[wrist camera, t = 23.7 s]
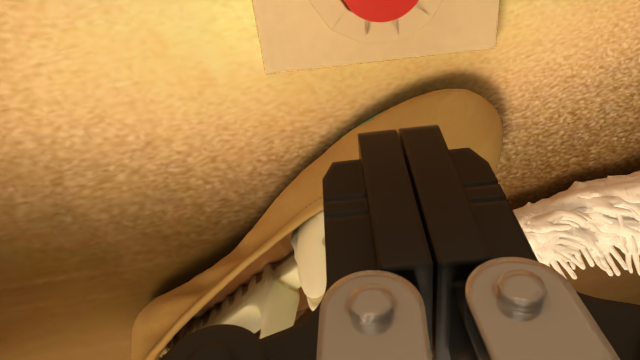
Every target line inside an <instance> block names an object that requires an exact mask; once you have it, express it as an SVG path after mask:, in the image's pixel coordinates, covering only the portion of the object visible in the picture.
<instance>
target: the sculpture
mask: <svg viewBox="0 0 640 360" xmlns="http://www.w3.org/2000/svg"><path fill="white" fill-rule="evenodd" d="M513 212H514V214H515V216H516V218H517V220H518V222H519V224H520V226H521V228H522V230H523V232H524V234H525V236H526V238H527V240H528V242H529V244H530V246H531V248H532V250H533V252H534V254H535V256H536V258H537V260H538V261H539V262H540V263H543V264H545V265H547V266H549V267H550V265H549V264H550V263H551V265H552V266H553V267H554V269H555V270H556V271H557V272H559V273H560V274H561V275H563V276H564V277H565V275H564V273H563V272H562V270H561V268H560V267H559V265H558V263H557V261H559V262H560V264H561V265H562V266H563V267H564V268H565V269H566V270H567V272H568V273H569V274H570V276H571V277H572V278H573V279H576V278H577V276H576V274H575V273H574V272H573V270H572V269H575V265H574V263H575V264H576V265H577V266H579V267H580V268H581V269H583V270H584V269H585V265H584V263H583V260H582V258H581V253H580V252H579V250H581V252H582V253H583V255H584V256H585V258H586V259H587V261H588V263H589V265H590V266H591V267H594V262H593V260H594V261H595V262H596V264H597V265H598V266H599V267H600V268H601V269H602V270H604V271H606V272H607V273H608V275H609V276H613V272H612V270H611V269H610V268H609V266H608V264H607V263H606V260H607V262H608V263H609V265H610V266H611V267H612V269H613V271H614V272H615V274H616V275H617V276H620V271H619V270H618V268H617V267H616V265H615V263H614V261H613V259H612V258H611V256H610V254H609V252H611V253H612V254H613V256H614V257H615V258H616V259H617V261H618V262H619V263H620V264H621V266H622V267H623V268H624V269H625V270H629V272H630V273H633V269H632V265H631V255H632V257H633V261H634V264H635V266H636V270H637V272H638V274H639V275H640V262H639V255H640V170H639V171H637V172H633V173H631V174H628V175H615V176H607V178H603V179H595V180H591V181H585V182H578V181H575V182H574V183H573V184H572V186H571V187H569V189H567V190H566V191H563V192H559V193H557V194H555V195H553V196H552V197H550V198H546V199H541V200H539V201H537V202H536V203H533V204H532V203H530V202H528V203H527V204H526V205H524V206H523V207H521V208H518V209H514V210H513ZM614 246H616V247H618V248H620V249H621V251H622V252H623V253H625V255H626V263H627V265H626V263H625V262H624V261H623V259H622V258H621V256H620V255H619V253H618V252H617V251H616V250H615V248H614ZM586 248H587V249H586ZM587 250H588V251H589V253H590V255H591V257H592V258H593V260H592V259H591V257H590V255H589V253H588V251H587ZM572 254H574V255H575V257H576V258H575V257H574V256H572ZM638 254H639V255H638ZM604 256H605V258H606V260H605V258H604ZM567 262H570V265H571V267H572V269H571V268H570V266H569V265H568V263H567ZM565 278H566V277H565Z"/></svg>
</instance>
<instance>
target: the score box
mask: <svg viewBox="0 0 640 360" xmlns="http://www.w3.org/2000/svg"><path fill="white" fill-rule="evenodd" d="M252 4H253V10H254V15H255V20H256V26H257V31H258V37H259V42H260V47H261V53H262V58H263V64H264V69H265V73H266V74H272V73H281V72H290V71H299V70H308V69H317V68H325V67H334V66H343V65H352V64H361V63H370V62H378V61H387V60H396V59H405V58H414V57H423V56H432V55H440V54H449V53H458V52H467V51H476V50H485V49H493V48H495V47H496V38H497V27H498V16H499V5H500V0H419V1H418V2H417V4H416V5H415V6H414V7H413V8H412V9H411V10H410V11H409V12H408V13H406V14H405V15H404V16H402V17H400V18H398V19H396V20H393V21H389V22H381V23H379V22H371V21H367V20H364V19H362V18H360V17H359V16H357V15H356V14H354V13H353V12H352V11H351V10H350V8H349V7H348V6H347V4H346V3H345V1H344V0H252Z"/></svg>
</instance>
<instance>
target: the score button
mask: <svg viewBox="0 0 640 360" xmlns="http://www.w3.org/2000/svg"><path fill="white" fill-rule="evenodd" d="M344 1H345V3H346V4H347V6H348V7H349V8H350V10H351V11H352V12H353V13H354V14H356V15H357V16H359V17H360V18H362V19H364V20H367V21H371V22H379V23H381V22H389V21H393V20H396V19H398V18H400V17H402V16H404V15H405V14H406V13H408V12H409V11H410V10H411V9H412V8H413V7H414V6H415V5H416V4H417V2H418V1H419V0H344Z"/></svg>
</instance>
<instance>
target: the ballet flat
mask: <svg viewBox="0 0 640 360" xmlns="http://www.w3.org/2000/svg"><path fill="white" fill-rule="evenodd" d="M435 124H437V125H438V126H439V127H440V130H441V132H442V135H443V137H444V140H445V142H446V144H447V147H448V149H459V148H468V147H469V148H470V149H472V150H473V151H474V152H476V153H477V154H478V155H480V156H481V157H482V158H484V159H485V160H486V161H488V162H489V164H490V166H491V168H492V170H493V172H495V170H496V168H497V166H498V163H499V159H500V156H501V151H502V144H503V127H502V122H501V119H500V116H499V114H498V112H497V110H496V108H495V107H494V106H493V105H492V104H491V103H490V102H489V101H487V100H486V99H485V98H483V97H482V96H480V95H478V94H476V93H474V92H472V91H470V90H466V89H440V90H436V91H432V92H428V93H425V94H422V95H420V96H417V97H414V98H411V99H409V100H406V101H404V102H402V103H400V104H398V105H396V106H394V107H391V108H389V109H387V110H385V111H383V112H381V113H379V114H377V115H375V116H374V117H372V118H370V119H369V120H367V121H365V122H363V123H362V124H360V125H359V126H357V127H356V128H354V129H353V130H351V131H350V132H348V133H347V134H346V135H344V136H343V137H342V138H341V139H339V140H338V141H337V142H336V143H335V144H333V145H332V146H331V147H330V148H329V149H328V150H327V151H326V152H325V153H324V154H322V155H321V156H320V157H319V158H318V159H316V160H315V161H314V162H313V163H311V164H310V165H309V166H308V167H306V168H305V169H304V170H303V171H302V172H301V173H300V174H299V175H298V176H297V177H296V178H295V179H294V180H293V181H292V182H291V183H290V184H289V185H288V186H287V187H286V188H285V189H284V190H283V191H282V193H281V194H280V195H279V196H278V197H277V198H276V199H275V200H274V202H273V203H272V204H271V206H270V207H269V208H268V210H267V211H266V212H265V214H264V215H263V216H262V217H261V218H260V219H259V220H258V222H257V223H256V225H255V226H254V227H253V229H252V230H251V231H249V232H248V233H247V234H246V236H245V237H244V238H243V240H242V241H241V242H240V243H239V245H238V246H237V247H236V248H235V249H234V250H233V251H232V252H231V253H229V254H228V255H227V256H225V257H224V258H222V259H221V260H220V261H219V262H217V263H216V264H215V265H214V266H212V267H210V268H209V269H207V270H206V271H204V272H202V273H200V274H199V275H197V276H195V277H194V278H193V279H191V280H190V281H188V282H187V283H185V284H183V285H181V286H179V287H177V288H175V289H173V290H171V291H169V292H167V293H165V294H163V295H161V296H159V297H157V298H155V299H153V300H152V301H151V302H150V303H148V304H147V305H146V306H145V307H144V308H143V309H142V310H141V311H140V312H139V314H138V315H137V316H136V318H135V321H134V325H133V329H132V334H131V360H159V359H161V358H162V357H163V356H164V355H165V354H166V353H167V352H168V351H169V350H170V349H171V348H172V347H173V346H174V345H175V344H177V343H178V342H179V341H180V340H181V339H183V338H184V337H186V336H187V335H189V334H191V333H193V332H195V331H197V330H199V329H202V328H205V327H208V326H212V325H217V324H231V325H237V326H241V327H244V328H246V329H248V330H250V331H251V332H253V333H254V334H255V335H256V336H257V337H258V338H259V339H261V338H264V337H266V336H269V335H272V334H274V333H277V332H279V331H282V330H285V329H287V328H289V327H291V326H294V325H296V324H297V323H299V322H301V321H302V320H304V319H305V318H306V317H307V316H309V315H310V314H311V313H312V312H313V311H314V310H315V309H316V308H317V306H318V305H319V303H320V302H321V300H322V298H323V296H324V293H325V289H326V282H327V278H326V254H325V231H324V208H323V185H322V179H323V178H324V176H325V174H326V173H327V171H328V169H329V167H330V166H331V164H332V162H338V161H348V160H357V159H359V149H358V135H357V134H358V133H363V132H372V131H382V130H391V129H396V131H397V134H398V129H399V128H408V127H417V126H426V125H435Z"/></svg>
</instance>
